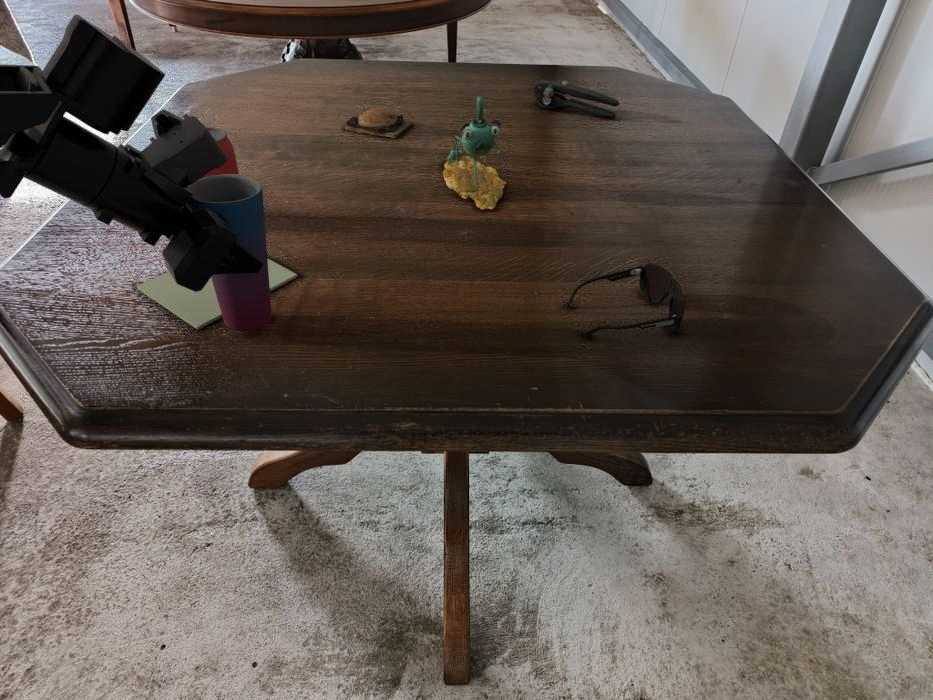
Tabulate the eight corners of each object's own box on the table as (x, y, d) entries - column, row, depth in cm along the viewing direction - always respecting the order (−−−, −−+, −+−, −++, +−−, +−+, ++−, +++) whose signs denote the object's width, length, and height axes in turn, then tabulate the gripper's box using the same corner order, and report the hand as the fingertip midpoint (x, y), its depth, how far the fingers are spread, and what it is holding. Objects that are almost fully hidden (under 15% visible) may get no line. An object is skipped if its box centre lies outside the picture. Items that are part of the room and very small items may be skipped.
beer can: (202, 235, 84) (180, 148, 76) (194, 213, 88) (172, 129, 81) (252, 225, 86) (235, 140, 79) (242, 205, 91) (225, 122, 83)
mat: (197, 330, 68) (196, 327, 68) (137, 288, 74) (136, 286, 74) (297, 277, 77) (297, 274, 77) (236, 243, 83) (236, 241, 82)
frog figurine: (488, 159, 107) (498, 72, 96) (517, 220, 95) (532, 128, 84) (433, 162, 105) (437, 73, 94) (455, 224, 93) (463, 130, 82)
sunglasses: (691, 339, 71) (698, 303, 67) (591, 360, 69) (593, 325, 66) (651, 286, 79) (656, 253, 75) (560, 305, 77) (561, 271, 74)
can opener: (526, 109, 127) (529, 80, 123) (536, 99, 132) (539, 71, 128) (612, 125, 122) (618, 95, 118) (619, 114, 127) (625, 85, 123)
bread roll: (413, 125, 118) (413, 105, 116) (394, 140, 112) (393, 120, 109) (363, 115, 120) (362, 96, 118) (341, 130, 114) (339, 109, 112)
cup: (266, 295, 72) (247, 169, 63) (289, 324, 68) (272, 194, 59) (206, 311, 69) (177, 181, 60) (227, 343, 65) (198, 208, 56)
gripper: (184, 132, 46) (335, 229, 58) (122, 64, 57) (259, 158, 69) (101, 254, 47) (266, 324, 59) (57, 164, 58) (202, 239, 71)
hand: (248, 254), depth 64 cm, fingers closed on cup, 6 cm apart
